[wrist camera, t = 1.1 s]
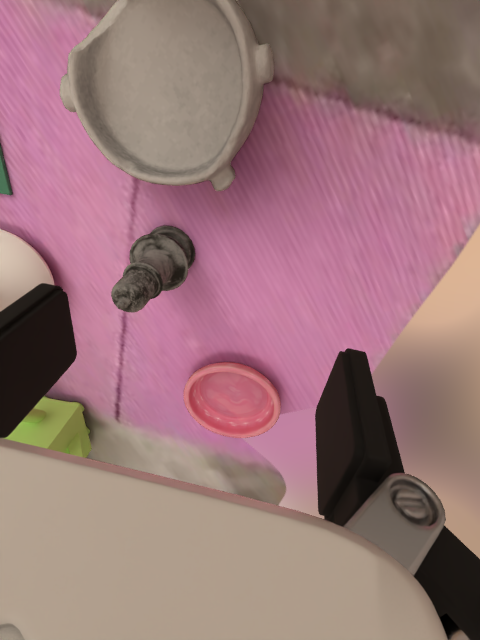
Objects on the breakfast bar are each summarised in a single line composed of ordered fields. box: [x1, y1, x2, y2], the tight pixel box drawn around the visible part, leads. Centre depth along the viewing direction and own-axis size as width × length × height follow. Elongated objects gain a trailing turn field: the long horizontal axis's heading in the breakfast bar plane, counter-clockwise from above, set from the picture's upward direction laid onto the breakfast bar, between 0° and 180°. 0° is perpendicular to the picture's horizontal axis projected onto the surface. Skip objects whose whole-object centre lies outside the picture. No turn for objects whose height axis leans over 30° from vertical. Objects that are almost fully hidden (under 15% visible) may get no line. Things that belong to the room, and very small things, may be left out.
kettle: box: [3, 396, 92, 458], centre depth 50 cm, size 15×14×11 cm
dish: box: [60, 0, 274, 191], centre depth 26 cm, size 14×14×5 cm
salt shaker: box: [111, 226, 195, 312], centre depth 31 cm, size 6×6×12 cm
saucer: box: [184, 362, 281, 438], centre depth 44 cm, size 12×12×3 cm
